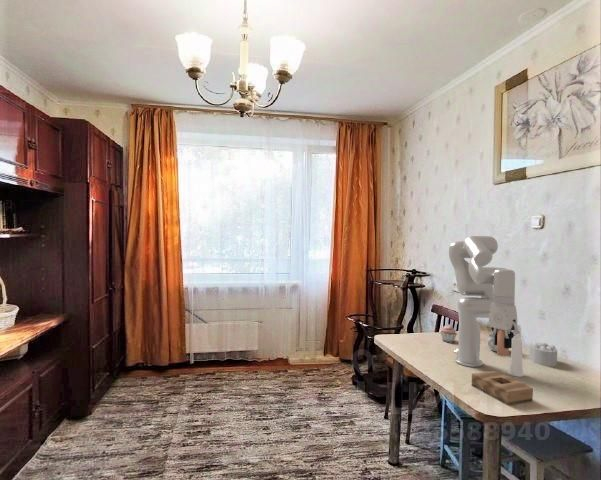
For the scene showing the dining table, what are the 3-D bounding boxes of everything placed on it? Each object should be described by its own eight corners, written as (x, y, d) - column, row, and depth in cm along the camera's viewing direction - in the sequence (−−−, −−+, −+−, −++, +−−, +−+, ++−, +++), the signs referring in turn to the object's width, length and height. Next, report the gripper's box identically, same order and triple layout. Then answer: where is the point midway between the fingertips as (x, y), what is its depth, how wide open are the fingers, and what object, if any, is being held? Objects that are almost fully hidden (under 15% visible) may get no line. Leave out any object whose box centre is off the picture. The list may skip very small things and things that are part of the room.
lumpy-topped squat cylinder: (549, 358, 193) (549, 341, 193) (562, 367, 180) (562, 349, 180) (526, 357, 195) (527, 340, 195) (538, 366, 182) (538, 348, 182)
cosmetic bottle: (509, 370, 175) (511, 323, 174) (524, 374, 171) (526, 325, 170) (506, 374, 170) (508, 325, 170) (522, 378, 166) (524, 328, 166)
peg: (494, 353, 153) (495, 323, 153) (502, 352, 154) (503, 322, 154) (502, 356, 149) (503, 325, 149) (510, 355, 150) (511, 324, 150)
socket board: (471, 385, 157) (471, 373, 157) (494, 382, 161) (495, 370, 161) (507, 405, 140) (508, 391, 140) (532, 401, 144) (533, 388, 143)
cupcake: (436, 338, 225) (437, 321, 225) (451, 338, 226) (452, 321, 226) (444, 343, 216) (444, 325, 215) (460, 343, 217) (460, 325, 216)
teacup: (498, 347, 211) (498, 332, 211) (514, 353, 201) (515, 338, 201) (478, 349, 207) (478, 334, 207) (494, 355, 196) (494, 340, 196)
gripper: (480, 297, 158) (479, 341, 158) (514, 304, 142) (513, 353, 142) (494, 297, 161) (493, 340, 161) (529, 303, 145) (528, 351, 145)
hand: (502, 346), depth 152 cm, fingers closed on peg, 4 cm apart
